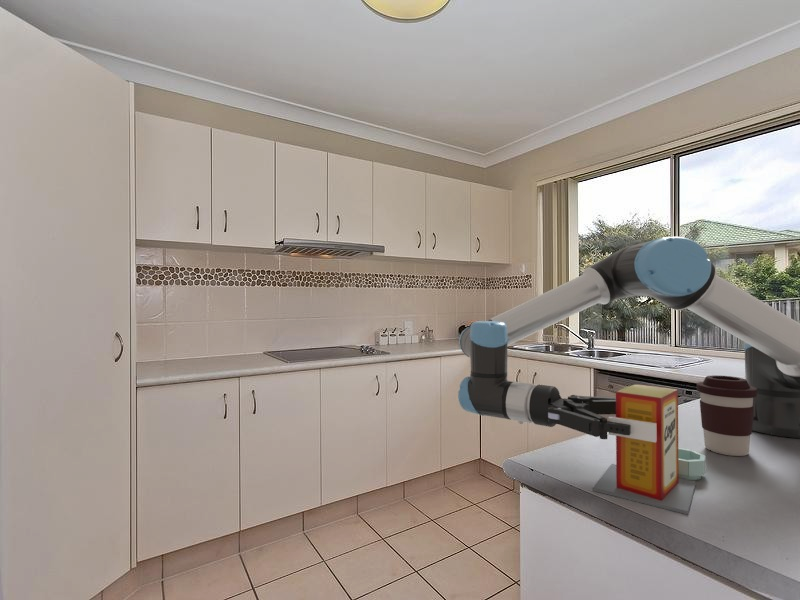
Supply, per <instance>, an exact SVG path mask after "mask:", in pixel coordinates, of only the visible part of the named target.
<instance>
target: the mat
mask: <svg viewBox="0 0 800 600" xmlns="http://www.w3.org/2000/svg"><path fill="white" fill-rule="evenodd" d="M696 484H697V481H696V480H686V479H681V478H679V483H678V484H677V485H676V486H675V487H674V488H673V489H672V490H671V491H670V492H669V493H668V494H667V496H666V497H665V498H664V499H663V500H662V501H660V500H657V499H654V498H650V497H647V496H643V495H640V494H636V493H633V492H630V491H626V490H623V489H619V488H617V483H616V463H611V464H610V465H609V466H608V468H607V469H606V470H605V471H604V473H603V474H602V475H601V476H600V478H599V479H598V481H597V482H596V483H595V484H594V485H593V486H592V491H594V492H598V493H601V494H605V495H610V496H612V497H617V498H620V499H625V500H627V501H633V502H637V503H639V504H644V505H648V506H652V507H656V508H661V509H664V510H668V511H672V512H675V513H679V514H684V515H689V512H690V510H691V509H690V508H691V504H692V501H693V496H694V493H695V490H694V489H696V486H695V485H696Z"/></svg>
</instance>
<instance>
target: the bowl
mask: <svg viewBox="0 0 800 600" xmlns="http://www.w3.org/2000/svg"><path fill="white" fill-rule="evenodd" d="M706 460H707V459H706V455H704V454H702V453H700V452H697V451H695V450H693V449H687V448H682V447H678V464H679V478H681V479H686V480H691V481H698V480H697V479H699V480H701V479H702V476H705V474H706V469H707V468H706V467H707V466H706V465H707V463H706ZM700 478H701V479H700Z"/></svg>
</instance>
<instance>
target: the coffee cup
mask: <svg viewBox="0 0 800 600" xmlns="http://www.w3.org/2000/svg"><path fill="white" fill-rule="evenodd" d="M696 391H697V392H698V393H700V399H699V408H700V417H701V418H700V420H701V427H702V429H703V440H704V441H703V442H704V447H705V448H706V449H707V450H708V451H710V450H711V452H713V453H716V454H721V455H723V456H724V455H725V456H731V457H745V456H747V455H748V454H749V453H750V442H751V435H752V434H753V430H752V425H753V413H754V406H753V397H756V396H757V389H756V388H755V387H752V386H749V384H748V382H747V380H746V379H745V378H743V377H737V376H732V375H731V376H730V375H713V374H712V375H707V376H705V378H704V380H703V381H699V382H697V383H696Z"/></svg>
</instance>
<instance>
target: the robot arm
mask: <svg viewBox="0 0 800 600" xmlns="http://www.w3.org/2000/svg"><path fill="white" fill-rule="evenodd" d="M708 255H709V254H708V252H707V251H706V249H705V248H704V247H703V246H702V245H701V244H699V243H698V242H696V241H694V240H693V239H690V238H687V237H682V236H664V237H658V238H654V239H653V240H649V241H645V242H641V243H637V244H633V245H628V246H626V247H623V248H621V249H619V250H617V251H615V252H613V253H612V254H611V255H607V256H606V257H605V258H603V259H601V260H600V261H597V262H596V263H594V264H592V265H590V266H588V267H586V268H585V269H584V270H583V273H582V274H581V275H579V276H577V277H575V278H572V279H571V280H569V281H567V282H565V283H562V284H561V285H558V286H557V287H554V288H552V289H550V290H547V291H546V292H543V293H541V294H539V295H537V296H536V297H533V298H531V299H528V300H527V301H525V302H523V303H520V304H519V305H516V306H514V307H512V308H510V309H508V310H506V311H504V312H502V313H499V314H497V315H496V316H493V317H491V318H490V319H488V320H477V321H473V322H472V323H471V324H470V326H467V327H466V328H465V329H464V330H462V331H461V333H460V334H459V338H458V343H459V348H460V350H461V352H462V353H463V354H464V355H465V356H466V357H468V358H470V376H466V377H464V378H463V379H462V380H461V382H460V384H459V390H458V392H457V393H458V394H457V397H458V402H459V405H460V407H461V409H463V410H464V411H465V412H469V413H472V414H475V415H476V414H477V415H479V416H485V417H486V416H487V417H491V418H492V417H493V418H498V419H499V418H500V419H506V420H509V421H510V420H512V421H518V422H517V423H518V424H519V425H523V424H524V423H526V424H532V423H533V424H535V425H538V426H542V427H549V428H553V427H555V426H556V425H559V426H563V427H566V428H568V429H572V430H574V431H577V432H580V433H583V434H586V435H589V436H591V437H595V438H598V437H599V439H600V440H608V435H611V436H615V437H616V436H621V437H627V438H632V439H638V440H644V441H650V442H655V443H656V442H657V423H651V422H644V421H638V420H631V419H624V418H617V417H616V416H608V418H607V417H604V416H601V415H616V396H614V397H613V396H591V395H590V396H587V395H586V396H585V395H584V396H583V395H577V394H572V395H569V396H567V398H562V396H561V395H560V390H559V389H558V388H557V387H556V386H555V385H554V386H553V385H545V384H537V385H536V384H535V383H531V382H521V381H513V380H512V381H510V380H508V347H509V346H511V345H513V344H515V343H517V342H519V341H521V340H523V339H525V338H527V337H529V336H531V335H534V334H536V333H538V332H540V331H543V330H545V329H546V328H548V327H550V326H553V325H555V324H558V323H559V322H561V321H563V320H566V319H567V318H570V317H572V316H574V315H576V314H579V313H580V312H583V311H584V310H587V309H589V308H590V307H592V306H595V305H597V304H600V305H607V304H609V303H611V302H613V301H616V300H620V299H623V298H631V297H651V298H653V299H655V300H657V301H658V302H660V303H662V304H663V305H665V306H667V307H669V308H671V309H672V310H674V311H683V310H689V311H691V312H692V313H694V314H696V315H697V316H699V317H701V318H703V319H704V320H705V321H708V322H709V323H711V324H713V325H715V326H716V327H718V328H720V329H721V330H723V331H725V332H727V333H729V334H730V335H731V336H732V335H733V337H736V338H737V339H739V340H740V341H742V342H744V343H745V347H744V348H743V350H744V367H745V368H744V369H745V371H744V372H745V375H744V379H746V380H747V382H748V384H749V386H752V387H755V388H756V389H757V396H756V397H753V406H754V413H753V425H752V432H756V433H757V432H758V433H762V434H766V435H772V436H778V437H783V438H784V437H786V438H797V439H798V438H799V439H800V322H798V321H797V320H795V319H793V318H792V317H789V316H788V315H786V314H784V313H783V312H781V311H779V310H777V309H776V308H774V307H773V306H772V305H769V304H767V303H765V302H764V301H762V300H761V299H759V298H757V297H755V296H754V295H751V294H750V293H748V292H747V291H745V290H743V289H742V288H740V287H738V286H736V285H735V284H733V283H731V282H729V281H728V280H726V279H725V278H722V277H720V276H719V275H717V267H716V265H715V263H713V262H711V260H710V259H709V258H708Z"/></svg>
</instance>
